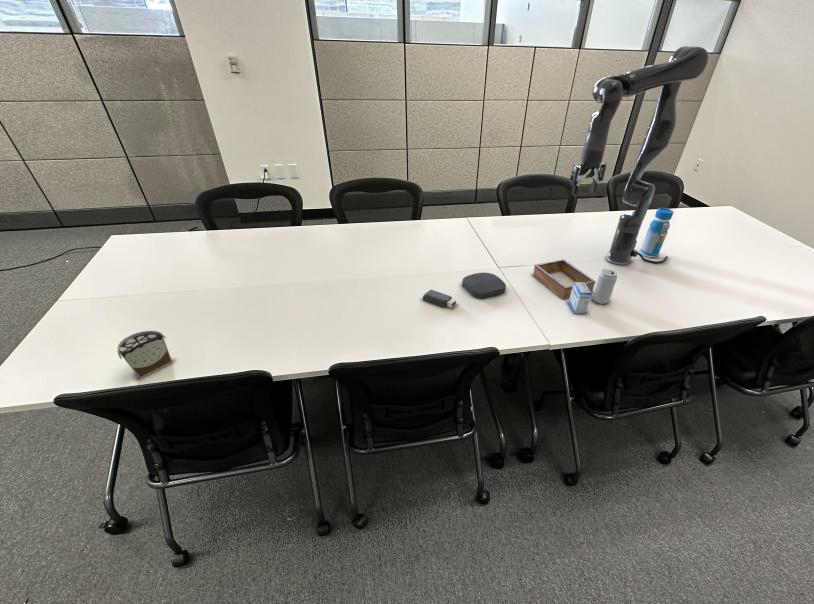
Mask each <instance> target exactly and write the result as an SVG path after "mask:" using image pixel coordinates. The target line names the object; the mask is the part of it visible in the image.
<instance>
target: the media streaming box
mask: <svg viewBox="0 0 814 604" xmlns="http://www.w3.org/2000/svg"><path fill="white" fill-rule="evenodd" d="M461 286H462V287H463V288H464V289H465V290H466V291H467V292H468V293H469V294H470V295H472V296H473V297H475V298H477V299H478V298H479V299H485V298H490V297H494V296H498V295H502V294H504V293H505V292H506V288H507V285H506V283H505V281H504V280H503V279H501V278H500V277H499V276H497V275H496V274H494V273H490V272H477V273H476V272H475V273H472V274H469V275H466V276H464V277H463V278H462V282H461Z"/></svg>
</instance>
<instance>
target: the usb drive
mask: <svg viewBox="0 0 814 604" xmlns="http://www.w3.org/2000/svg"><path fill="white" fill-rule="evenodd" d="M422 300H423V301H424V302H427V303H430V304H432V305H436V306H438V307H441V308H447V307H448V308H451V309H452V308H453V307H455V306H456V304H457V299H455V298H453V296H451V295H448V294H446V293H443V292H440V291H437V290H434V289H429V290H428V291H427V292H425V293H424V294H423V296H422Z"/></svg>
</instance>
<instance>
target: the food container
mask: <svg viewBox="0 0 814 604" xmlns="http://www.w3.org/2000/svg"><path fill="white" fill-rule="evenodd" d="M165 339H167V337H166V336H165V335H164V334H163V333H162V332H160V331H157V330H144V331H140V332H139V331H138V332H136V333H133V334H130V335H128V336H126V337H125V338H124V339H123V338H122V340H121V341H120V342H119V343H118V345H117V347H116V348H117V350H116V351H117V355H118V358H119V359H120V360H122V359H124V360H125V362H126V363H127V364H128V366H130V368H131V369H132V371H133V372H134V373H135V374H136V375H137V376H138V378H139V379H142V378H144V377H146V376H148V375H150V374H152V373H153V372H156V371H158V370H160V369H161V368H163V367H165V366H167V365H170V364H171V363H173V360H172V356H171V354H170V351H169V349H168V346H167V344H166V341H165Z"/></svg>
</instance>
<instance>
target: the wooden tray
mask: <svg viewBox="0 0 814 604" xmlns="http://www.w3.org/2000/svg"><path fill="white" fill-rule="evenodd" d="M533 266H534V267H533V273H532V276H533V277H534V278H535V279H537V280H539V282H541V284H543V285H544V286H546V287H547V288H548V289H549V290H551V291H552V292H553V293H554V294H556V295H557V296H558V297H559V298H561V299H562V300H564V299H568V298H569V299H570V295H571V292H572V288H573V285H574V284H571V285H567V286H565V284H563V283H561V282H560V281H559V280H557V279H556V278H555V277H554V276H552V275H551V274H550V273H556V272H560V271H561V272H562V273H564V274H565V275H566V276H568V277H569V278H570V279H571V280H573V281H575V282H584V283H585V284H586V285H587V287H588V288H589V290H590V291H591V292H592V293H593V292H594V291H593V290H594V288H595V285H596V283H597V280H595V279H594V278H592V277H590V276H589V275H588V274H586V273H584V272H583V271H582V270H580V268H577V267H575V266H574V265H573V264H571V263H570V262H569V261H567V260H566V259H564V258H561V259H556V260H552V261H547V262H541V263H536V264H534V265H533Z"/></svg>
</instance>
